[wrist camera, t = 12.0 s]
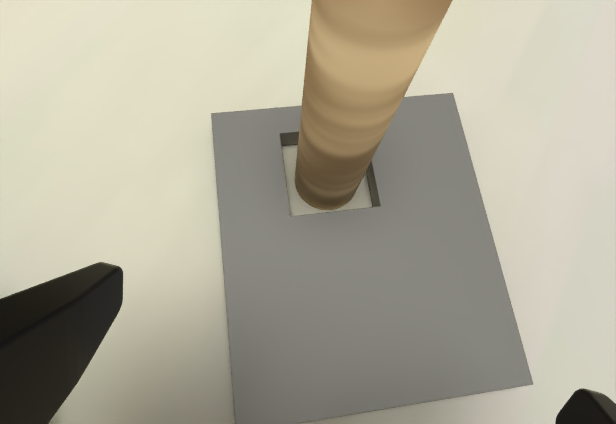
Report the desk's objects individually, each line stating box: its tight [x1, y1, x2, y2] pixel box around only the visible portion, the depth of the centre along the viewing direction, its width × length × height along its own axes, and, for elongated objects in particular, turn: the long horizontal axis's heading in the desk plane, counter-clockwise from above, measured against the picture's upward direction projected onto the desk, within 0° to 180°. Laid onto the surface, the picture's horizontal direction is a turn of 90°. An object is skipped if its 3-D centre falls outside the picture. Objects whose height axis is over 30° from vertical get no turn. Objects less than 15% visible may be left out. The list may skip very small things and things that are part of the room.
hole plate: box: [211, 93, 533, 424], centre depth 22 cm, size 16×14×2 cm
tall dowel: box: [295, 0, 452, 210], centre depth 17 cm, size 4×4×14 cm
